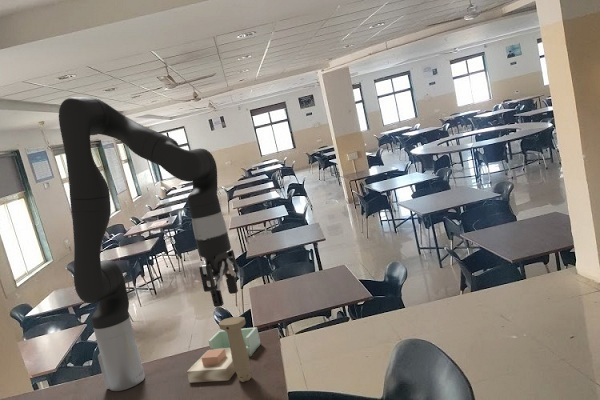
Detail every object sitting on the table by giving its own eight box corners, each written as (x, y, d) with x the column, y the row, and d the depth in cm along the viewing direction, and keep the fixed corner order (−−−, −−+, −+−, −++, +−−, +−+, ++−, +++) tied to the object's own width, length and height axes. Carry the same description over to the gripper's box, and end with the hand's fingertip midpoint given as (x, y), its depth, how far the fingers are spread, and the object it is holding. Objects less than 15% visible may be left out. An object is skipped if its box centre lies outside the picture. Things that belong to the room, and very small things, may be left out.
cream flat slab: (189, 382, 129) (186, 371, 128) (210, 360, 140) (208, 349, 140) (228, 380, 125) (226, 368, 125) (246, 357, 137) (244, 346, 136)
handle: (252, 384, 120) (238, 324, 119) (229, 384, 123) (215, 325, 121) (261, 374, 125) (248, 316, 123) (238, 374, 127) (225, 317, 125)
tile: (203, 365, 130) (201, 358, 130) (210, 357, 134) (209, 350, 134) (218, 364, 128) (217, 356, 128) (226, 355, 133) (224, 348, 132)
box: (211, 359, 140) (207, 342, 140) (222, 347, 147) (218, 330, 147) (251, 356, 137) (247, 338, 136) (260, 343, 144) (256, 327, 143)
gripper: (210, 229, 127) (224, 290, 129) (182, 243, 114) (199, 312, 116) (237, 224, 125) (251, 287, 127) (212, 239, 112) (228, 309, 114)
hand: (226, 299), depth 121 cm, fingers open, 8 cm apart
